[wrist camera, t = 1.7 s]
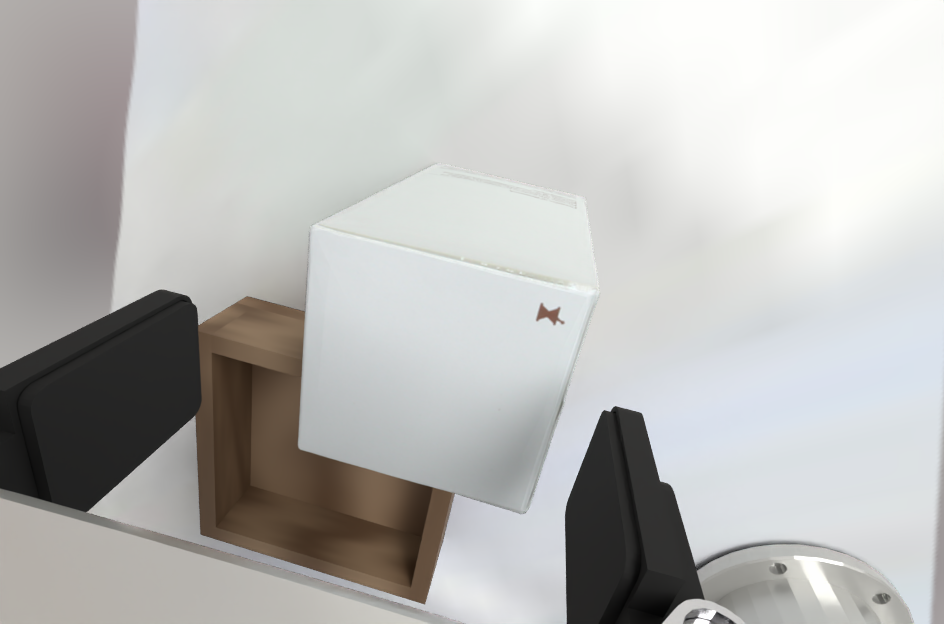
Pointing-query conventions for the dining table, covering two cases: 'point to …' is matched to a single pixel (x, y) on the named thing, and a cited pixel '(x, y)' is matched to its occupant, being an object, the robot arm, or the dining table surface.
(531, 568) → the dining table surface
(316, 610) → the robot arm
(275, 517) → the wooden shadow box
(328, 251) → the supplement box
